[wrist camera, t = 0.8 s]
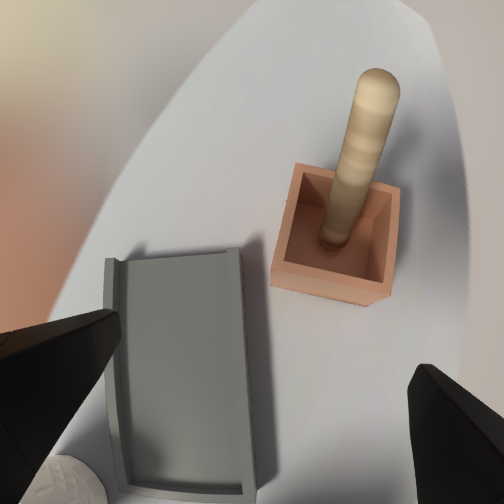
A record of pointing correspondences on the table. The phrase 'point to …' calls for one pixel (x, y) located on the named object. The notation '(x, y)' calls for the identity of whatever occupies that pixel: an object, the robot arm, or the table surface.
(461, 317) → the table surface
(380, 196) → the terracotta box
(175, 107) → the table surface
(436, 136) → the table surface
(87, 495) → the white cup
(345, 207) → the birch dowel
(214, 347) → the slate tray
